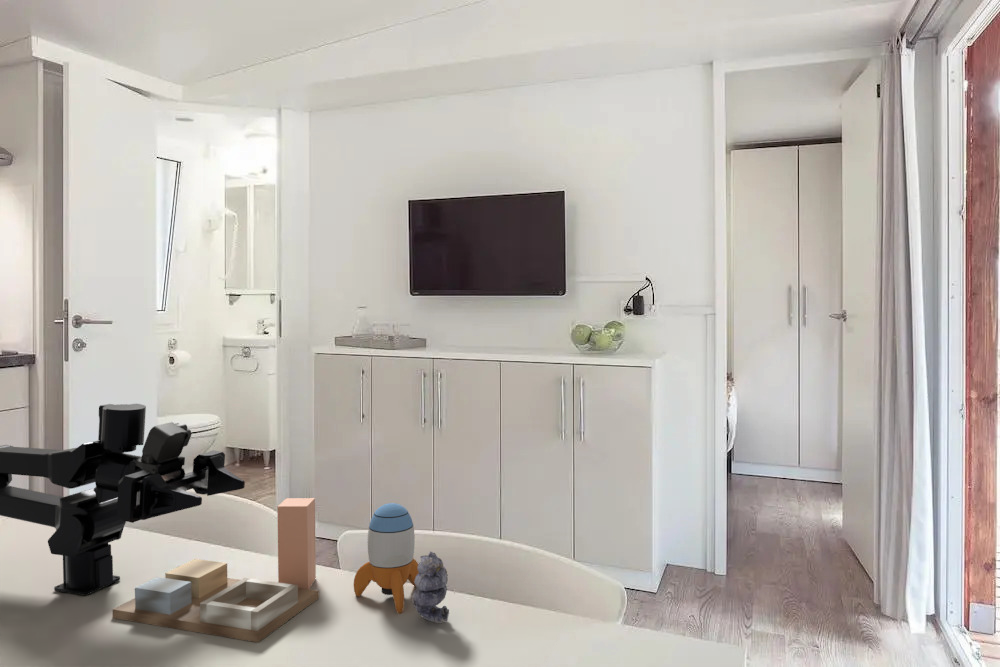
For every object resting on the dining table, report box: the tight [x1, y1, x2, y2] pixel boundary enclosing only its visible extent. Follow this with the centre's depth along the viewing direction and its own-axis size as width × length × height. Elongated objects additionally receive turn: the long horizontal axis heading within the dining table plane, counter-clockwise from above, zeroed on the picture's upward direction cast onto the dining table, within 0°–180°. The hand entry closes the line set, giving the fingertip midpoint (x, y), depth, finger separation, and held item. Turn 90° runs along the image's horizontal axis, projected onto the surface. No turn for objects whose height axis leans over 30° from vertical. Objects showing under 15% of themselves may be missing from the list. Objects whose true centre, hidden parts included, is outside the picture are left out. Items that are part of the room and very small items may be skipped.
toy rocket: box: [353, 502, 419, 614], centre depth 100 cm, size 10×11×15 cm
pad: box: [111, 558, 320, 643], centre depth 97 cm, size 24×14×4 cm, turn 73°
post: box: [277, 497, 317, 589], centre depth 105 cm, size 4×4×13 cm
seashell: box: [411, 551, 450, 624], centre depth 92 cm, size 5×5×10 cm
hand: (223, 492), depth 98 cm, fingers open, 9 cm apart
